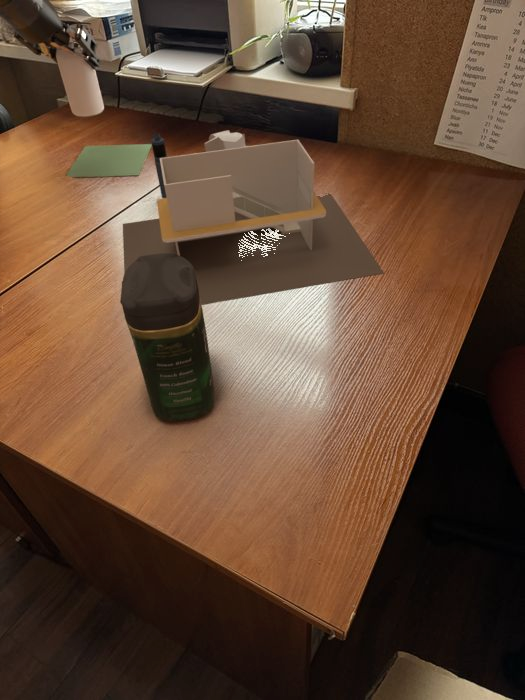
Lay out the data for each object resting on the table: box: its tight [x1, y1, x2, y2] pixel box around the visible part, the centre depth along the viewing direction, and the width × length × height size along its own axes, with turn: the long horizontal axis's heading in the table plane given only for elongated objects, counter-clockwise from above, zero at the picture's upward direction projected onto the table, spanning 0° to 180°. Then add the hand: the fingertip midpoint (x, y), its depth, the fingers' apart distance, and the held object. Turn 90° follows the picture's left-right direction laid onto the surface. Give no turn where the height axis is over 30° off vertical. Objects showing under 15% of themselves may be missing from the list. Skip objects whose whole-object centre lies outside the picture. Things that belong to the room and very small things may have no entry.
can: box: [56, 40, 105, 118], centre depth 98 cm, size 6×6×12 cm
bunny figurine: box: [203, 129, 248, 152], centre depth 109 cm, size 10×5×15 cm
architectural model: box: [156, 139, 327, 253], centre depth 80 cm, size 26×13×15 cm, turn 102°
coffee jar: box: [119, 253, 215, 423], centre depth 56 cm, size 10×8×19 cm
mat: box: [65, 143, 153, 179], centre depth 113 cm, size 16×16×1 cm
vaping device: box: [150, 133, 173, 198], centre depth 95 cm, size 3×5×12 cm, turn 54°
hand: (81, 64), depth 97 cm, fingers closed on can, 6 cm apart
